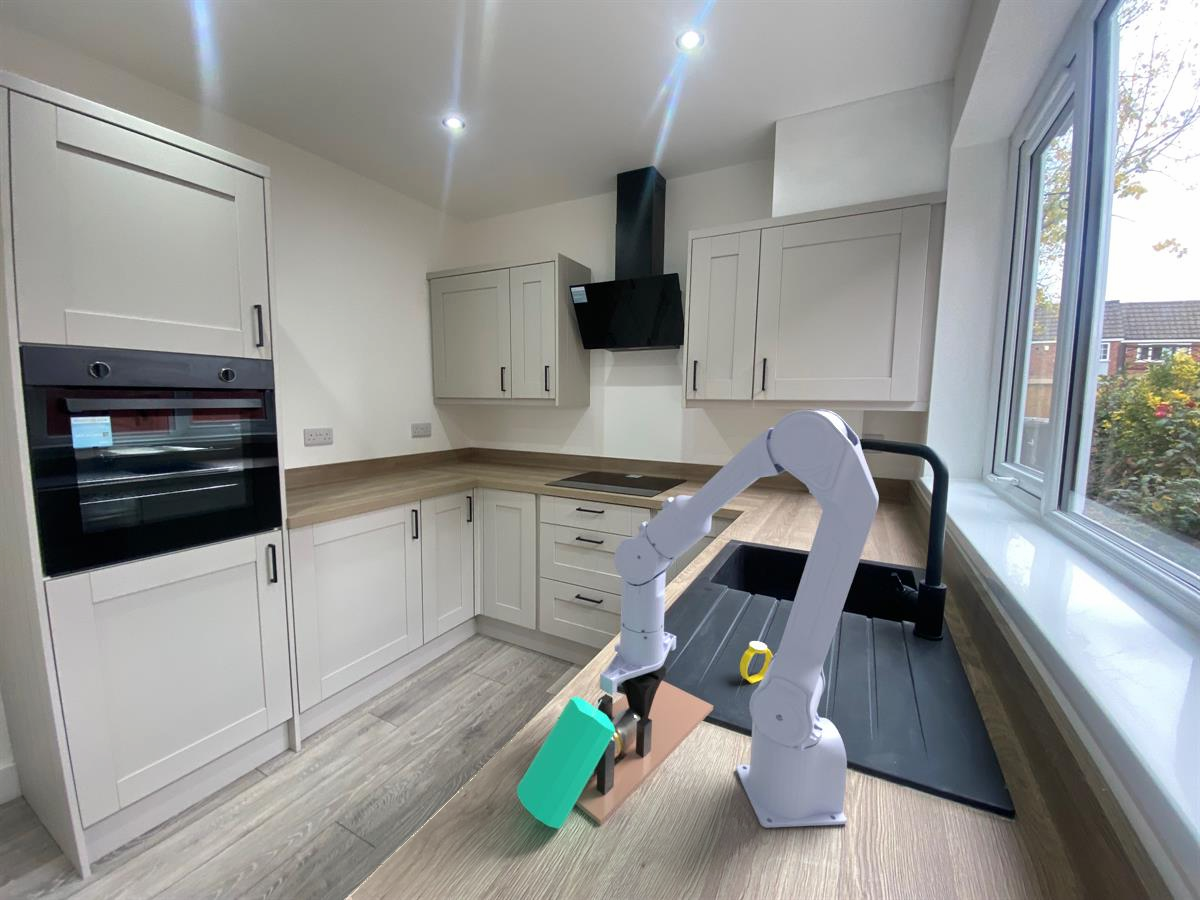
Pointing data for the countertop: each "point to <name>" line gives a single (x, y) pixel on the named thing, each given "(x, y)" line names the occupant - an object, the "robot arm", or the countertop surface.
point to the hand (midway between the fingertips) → (639, 717)
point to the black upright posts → (607, 760)
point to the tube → (622, 731)
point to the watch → (753, 648)
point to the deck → (670, 727)
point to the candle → (565, 762)
